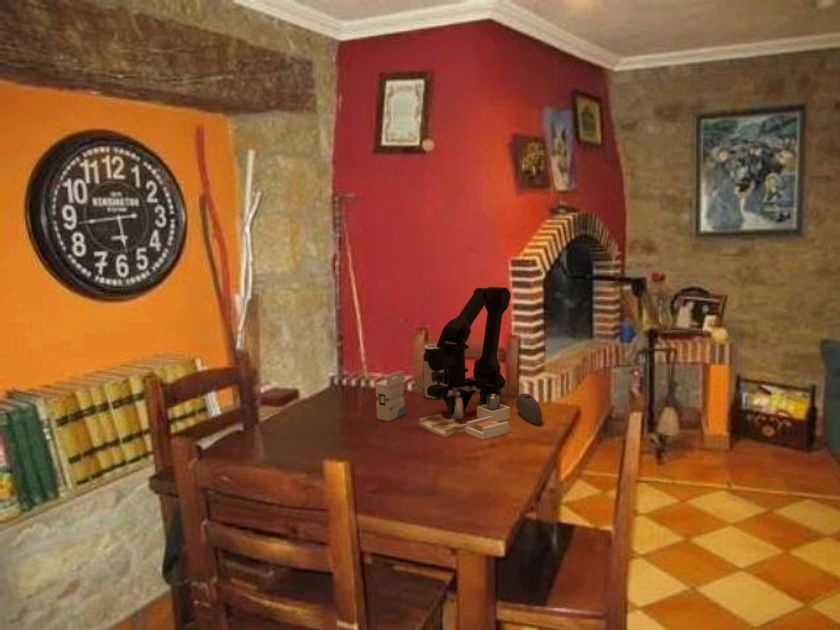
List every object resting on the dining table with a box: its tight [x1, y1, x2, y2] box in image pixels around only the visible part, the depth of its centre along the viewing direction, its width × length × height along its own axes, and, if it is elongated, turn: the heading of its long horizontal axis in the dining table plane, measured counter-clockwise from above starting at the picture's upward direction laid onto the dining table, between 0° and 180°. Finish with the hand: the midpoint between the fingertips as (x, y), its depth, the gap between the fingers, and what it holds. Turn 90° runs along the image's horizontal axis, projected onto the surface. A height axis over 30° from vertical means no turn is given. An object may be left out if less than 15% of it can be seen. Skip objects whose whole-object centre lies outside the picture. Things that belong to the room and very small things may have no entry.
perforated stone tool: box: [515, 392, 543, 426], centre depth 199 cm, size 15×5×7 cm, turn 9°
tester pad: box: [476, 421, 495, 432], centre depth 188 cm, size 5×5×2 cm
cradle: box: [464, 416, 511, 440], centre depth 188 cm, size 10×8×4 cm
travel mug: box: [423, 343, 447, 400], centre depth 228 cm, size 8×8×18 cm
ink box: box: [375, 370, 406, 422], centre depth 206 cm, size 9×5×15 cm, turn 143°
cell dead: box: [487, 393, 500, 411], centre depth 200 cm, size 4×4×8 cm
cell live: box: [450, 393, 464, 420], centre depth 203 cm, size 4×4×8 cm
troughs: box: [417, 413, 467, 438], centre depth 194 cm, size 9×14×2 cm, turn 34°
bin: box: [476, 404, 511, 423], centre depth 201 cm, size 7×7×4 cm
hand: (457, 413), depth 203 cm, fingers closed on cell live, 4 cm apart
